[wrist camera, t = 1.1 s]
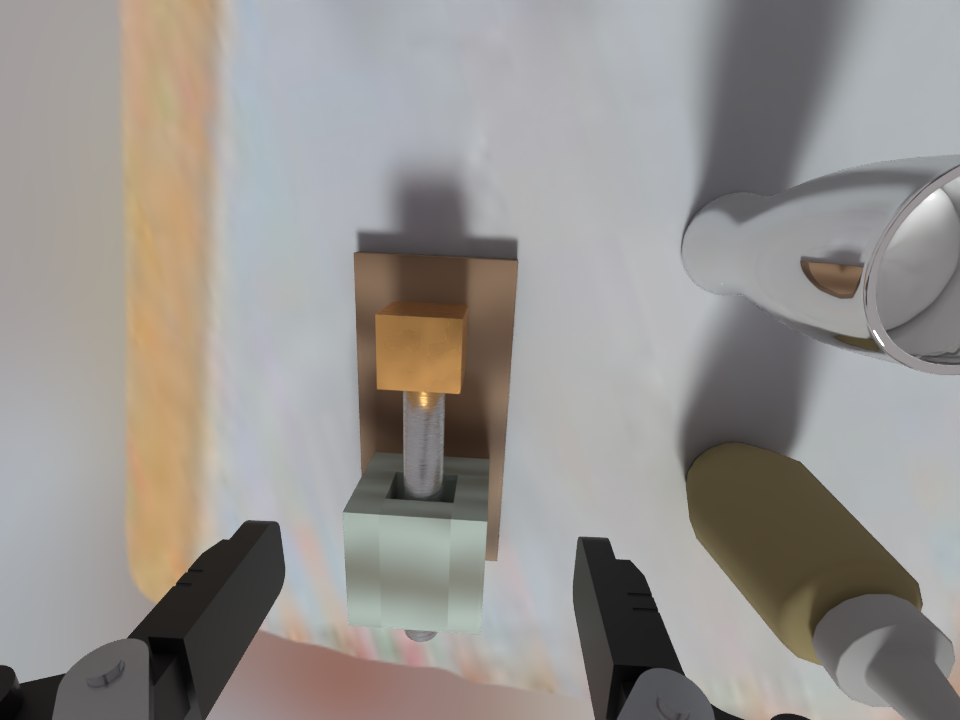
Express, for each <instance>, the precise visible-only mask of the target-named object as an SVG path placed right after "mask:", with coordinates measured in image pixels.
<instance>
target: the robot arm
mask: <svg viewBox="0 0 960 720" xmlns="http://www.w3.org/2000/svg"><path fill="white" fill-rule="evenodd" d="M284 578H285V562H284V555H283V547H282V539H281V532H280V526H279V524H278V523H277V522H275V521H254V520H248V521H246V522H244V523H243V524H242V525H241V527H240V528H239V529H238V530H237V531H236V532H235V534H234V535H233V536H232V537H231V538H230V540H224V539H223V540H221V541H220V542H218V543H217V544H215V545H214V546H212V547H211V548H209V549H208V550H207V551H205V552H204V553H202V554H201V556H200V557H199V558H198V559H197V560H196V561H195V562H194V563H193V565H192V566H191V567H190V568H189V569H188V572H187V573H185V574H184V575H183V576H182V577H181V578H180V579H179V580H178V581H177V583H176V586H173V587H172V588H171V589H170V590H169V592H168V593H167V594H166V595H165V596H164V597H163V598H162V599H161V601H160V602H159V603H158V604H157V605H156V606H155V607H154V608H153V609H152V611H151V612H150V613H149V614H148V615H147V616H146V617H145V619H144V620H143V621H142V622H141V623H140V624H139V625H138V626H137V627H136V629H135V630H134V631H133V632H132V633H131V634H130V635H129V636H128V638H127V639H121V640H117V641H114V642H111V643H108V644H106V645H103V646H101V647H100V648H97V649H96V650H94V651H92V652H90V653H89V654H87V655H86V656H84V657H83V658H82V659H80V660H79V661H78V662H77V663H76V664H75V665H74V666H73V667H72V668H71V669H70V670H69V671H68V672H67V673H66V674H61V675H56V676H52V677H48V678H43V679H39V680H34V681H30V682H25V683H21V684H19V682H18V679H17V677H16V674H15V672H14V670H13V669H12V668H10V667H8V666H4V665H0V720H205V719H206V717H207V716H208V714H209V712H210V711H211V709H212V707H213V706H214V704H215V702H216V700H217V699H218V697H219V695H220V694H221V692H222V690H223V689H224V687H225V685H226V683H227V682H228V680H229V678H230V677H231V675H232V673H233V671H234V670H235V668H236V667H237V665H238V663H239V661H240V660H241V658H242V656H243V655H244V653H245V651H246V649H247V648H248V646H249V644H250V643H251V641H252V639H253V638H254V636H255V634H256V633H257V631H258V629H259V628H260V626H261V624H262V622H263V621H264V619H265V617H266V616H267V614H268V612H269V611H270V609H271V607H272V605H273V604H274V602H275V600H276V599H277V597H278V595H279V593H280V591H281V589H282V586H283V583H284ZM573 603H574V611H575V616H576V622H577V627H578V632H579V637H580V643H581V648H582V653H583V658H584V664H585V669H586V674H587V680H588V685H589V690H590V695H591V701H592V706H593V711H594V716H595V720H744V719H741V718H738V717H736V716H733V715H730V714H728V713H726V712H724V711H722V710H720V709H718V708H716V707H715V706H713V705H712V704H710V702H709V701H708V699H707V697H706V696H705V694H704V693H703V692H702V690H701V689H700V688H699V687H698V686H697V685H696V684H695V683H693V682H692V681H691V680H690V679H688V678H687V677H686V676H685V674H684V672H683V670H682V667H681V665H680V663H679V660H678V658H677V655H676V653H675V650H674V648H673V645H672V643H671V640H670V638H669V635H668V633H667V630H666V628H665V625H664V623H663V621H662V618H661V616H660V613H658V608H657V606H656V603H655V601H654V598H653V597H652V593H651V591H650V588H649V586H648V583H647V581H646V579H645V576H644V575H643V574H642V573H641V572H640V570H639V569H638V568H637V567H636V566H635V565H634V564H633V563H632V562H631V561H630V560H619V559H616V558H615V555H614V552H613V550H612V547H611V544H610V541H609V539H608V538H600V537H579V538H578V542H577V550H576V560H575V570H574V579H573ZM771 720H810V719H808V718H806V717H803V716H800V715H795V714H779V715H776V716H774V717H773V718H772V719H771Z"/></svg>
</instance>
